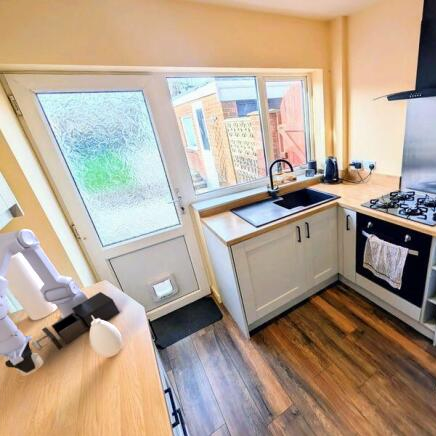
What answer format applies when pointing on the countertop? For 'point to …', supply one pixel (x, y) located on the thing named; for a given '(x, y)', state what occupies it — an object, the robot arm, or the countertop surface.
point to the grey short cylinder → (37, 362)
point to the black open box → (63, 331)
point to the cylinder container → (27, 288)
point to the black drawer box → (96, 309)
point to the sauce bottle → (105, 338)
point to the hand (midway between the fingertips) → (30, 364)
